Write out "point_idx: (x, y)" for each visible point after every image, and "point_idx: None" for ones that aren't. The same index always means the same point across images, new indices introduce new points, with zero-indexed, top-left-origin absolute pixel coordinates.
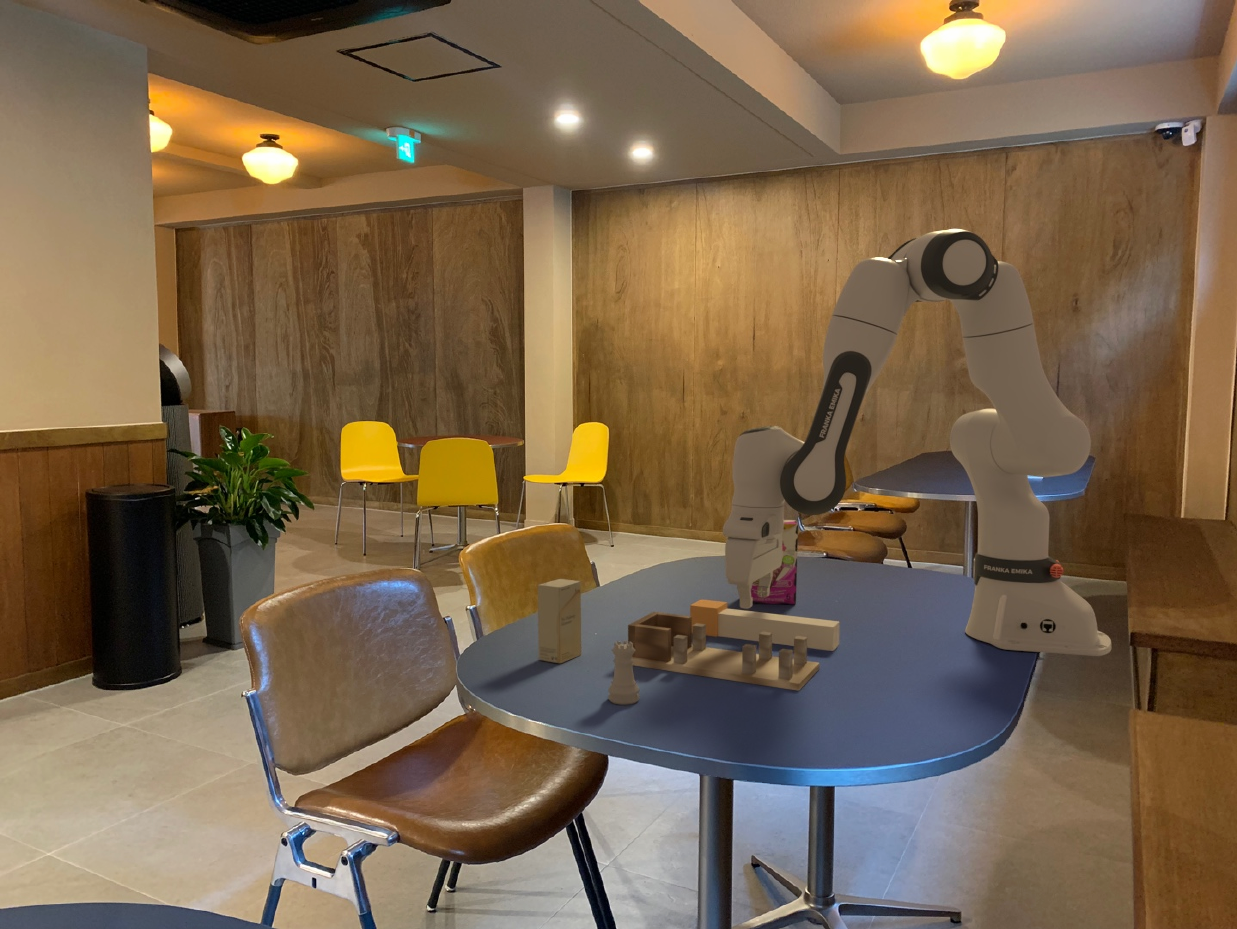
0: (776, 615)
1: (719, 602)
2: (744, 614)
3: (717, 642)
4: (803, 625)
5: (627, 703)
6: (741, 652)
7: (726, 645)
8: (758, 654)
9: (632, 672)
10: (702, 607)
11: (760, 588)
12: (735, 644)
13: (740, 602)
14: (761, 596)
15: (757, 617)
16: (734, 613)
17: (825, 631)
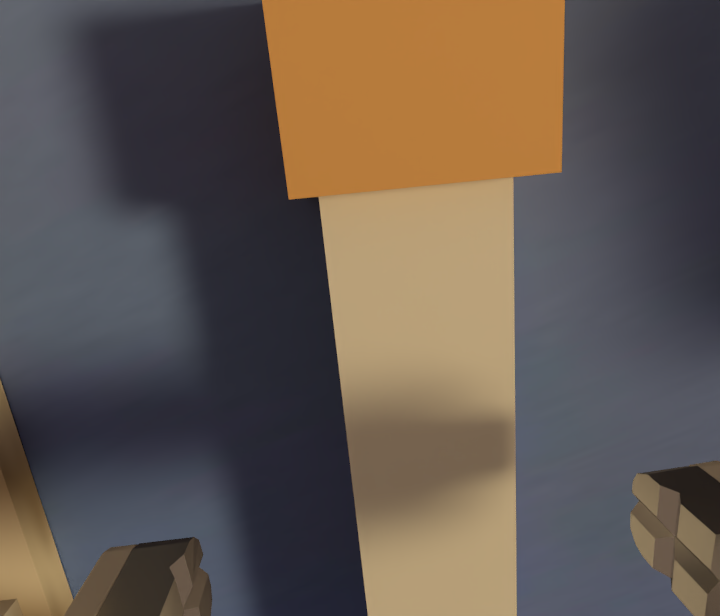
0: (486, 557)
1: (520, 106)
2: (401, 384)
3: (203, 255)
4: None
5: None
6: (4, 502)
7: (182, 323)
8: (35, 574)
9: None
10: (268, 32)
11: (698, 555)
12: (229, 353)
13: (89, 587)
14: (639, 502)
15: (372, 488)
16: (389, 310)
17: None
